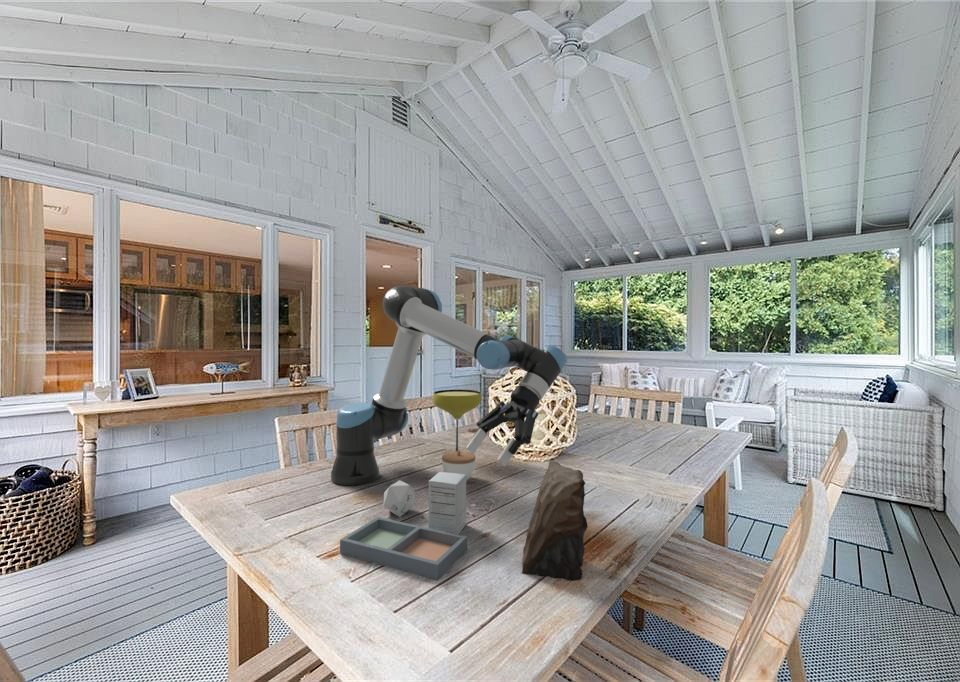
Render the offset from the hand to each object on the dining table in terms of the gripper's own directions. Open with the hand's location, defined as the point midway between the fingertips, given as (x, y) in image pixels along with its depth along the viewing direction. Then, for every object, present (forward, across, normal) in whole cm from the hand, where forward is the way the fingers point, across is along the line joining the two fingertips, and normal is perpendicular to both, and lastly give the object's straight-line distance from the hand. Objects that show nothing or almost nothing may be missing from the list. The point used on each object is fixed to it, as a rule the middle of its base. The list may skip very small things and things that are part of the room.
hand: (484, 456), depth 114 cm
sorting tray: (+28, -4, +6) cm, 29 cm away
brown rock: (+13, -26, -10) cm, 31 cm away
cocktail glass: (-5, +48, -27) cm, 56 cm away
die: (+23, +16, 0) cm, 28 cm away
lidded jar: (+4, +29, -19) cm, 35 cm away
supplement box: (+19, 0, -4) cm, 19 cm away
